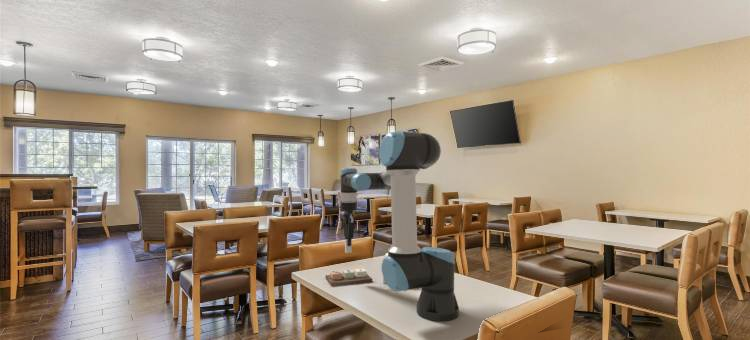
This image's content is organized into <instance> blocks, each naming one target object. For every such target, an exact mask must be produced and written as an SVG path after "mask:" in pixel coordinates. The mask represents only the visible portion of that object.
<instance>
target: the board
mask: <svg viewBox="0 0 750 340" xmlns="http://www.w3.org/2000/svg"><path fill="white" fill-rule="evenodd" d="M325 280H326V281H327V282H328V285H330V287H338V286H347V285H357V284H365V283H372V282H373V278H372V277H371V276H370V275H369V274H367V276H366V277H356V276H355V278H346V279H345V278H344V277H343V273H342V279H336V280H332V279H331V277H330V274H325Z"/></svg>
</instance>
